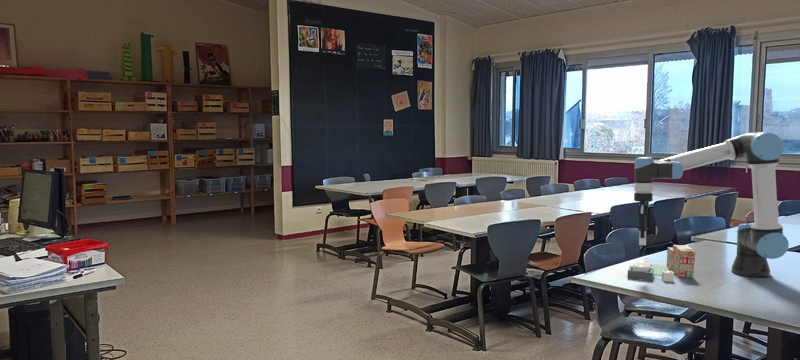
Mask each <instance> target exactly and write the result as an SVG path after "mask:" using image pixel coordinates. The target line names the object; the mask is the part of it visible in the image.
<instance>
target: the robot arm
mask: <svg viewBox="0 0 800 360" xmlns="http://www.w3.org/2000/svg"><path fill="white" fill-rule="evenodd" d="M784 147H785V146H784V142H783V140H782V138H781V137H780V136H778V135H777V134H775V133H773V132H769V131H758V132H756V131H755V132H754V131H753V132H752V131H751V132H747V133H743V134H741V135H736V136H734V137H732V138H728V139H725V140H724V142H722V143H718V144H715V145H714V144H713V145H711V146H710V145H709V146H707V147H704V148H703V147H702V148H699V149H695V150H691V151H687V152H684V153H680V154H677V155H672V156H669V157H665V158H662V159H655V160H654V158H653V157H647V156H646V157H645V156H643V157H642V156H641V157H636V158H635V159H634V167H633V168H634V184H632V187H634V193H633V201H635V202H639V204H638V205H637V209H638V228H637V231H639V232H638V235H639V236H638V245H639V246H647V231H648V230H649V228H647V220H648V219H647V215H648V209H649V205H648V204H647V203H649V202H652V201H653V199H654V197H653V191H654V180H658V179H661V180H662V179H663V180H665V179H666V180H667V179H668V180H670V179H671V180H674V179H681V178H682V176H683V174H684V171H687V170H691V169H694V168H699V167H702V166H706V165H709V164H710V165H711V164H713V163H717V162H722V161H725V160H731V161H734V160H740V159H746V164H747V166H748V167H750V168H751V182H752V198H753V199H752V201H753V217H754V218H753V219H754V220H753V221H754V222H753V223H739V224H738V226H737V231H736V232H737V235H736V236H737V237H736V256H735V258H734V260H733V262H732V265H731V270H730V271H731V273H733V274H736V275H740V276H742V277H743V276H744V277H752V278H768V277H770V276H771V268H770V265H769V262H768V259H769V260H776V259H779V258H781V257H783V256H784V255H785V254H787V252H788V250H789V240H788V238H787V237H786V236H785V234H784V229H783V225H782V224H781V223H779V215H778V195H777V178H776V176H777V175H776V166H778V165H779V163H780V156H781V155H782V154H783V152H784Z"/></svg>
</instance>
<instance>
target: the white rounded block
mask: <svg viewBox="0 0 800 360" xmlns="http://www.w3.org/2000/svg"><path fill="white" fill-rule="evenodd" d="M635 264H636V263H635ZM635 264H633V265H632V266H633V269H632V270H633V271H643V272H649V270H650V268H651V267H649V266H647V265H640V264H636V265H635Z"/></svg>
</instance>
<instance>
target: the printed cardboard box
mask: <svg viewBox="0 0 800 360" xmlns="http://www.w3.org/2000/svg"><path fill="white" fill-rule="evenodd" d="M666 248H667V249H666V265H667V266H668V267H669V270H670V271H673V272H674V275H675V276H677V277H678V278H688V279H693V278H694V269H695V259H696V251H695V250H694V248H691V247H690V246H688V245H686V244H685V245H684V244H681V245H680V244H673V245H672V247H669V246H668V247H666Z"/></svg>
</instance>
